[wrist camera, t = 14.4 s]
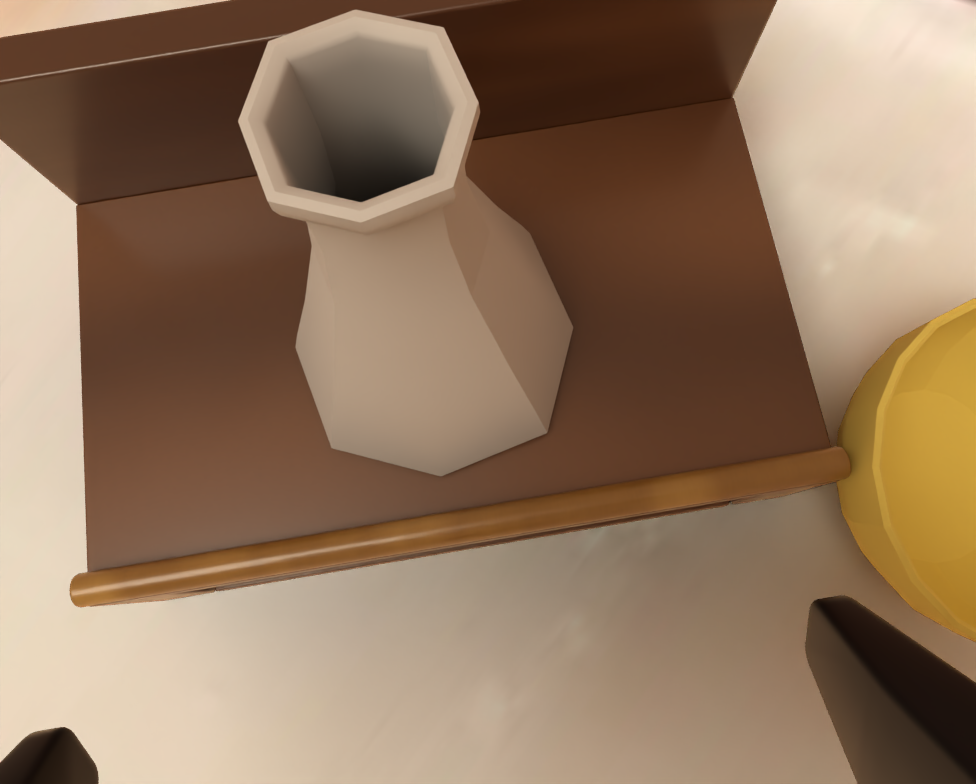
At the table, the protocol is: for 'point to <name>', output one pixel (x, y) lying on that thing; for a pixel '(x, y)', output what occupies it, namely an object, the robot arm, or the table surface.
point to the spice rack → (284, 273)
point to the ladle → (919, 468)
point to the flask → (402, 248)
